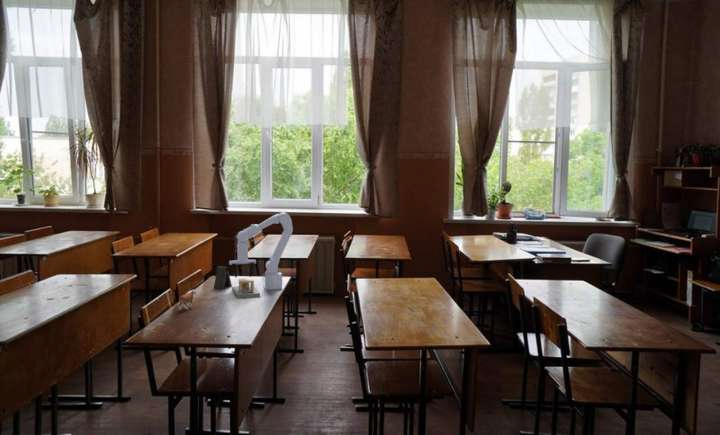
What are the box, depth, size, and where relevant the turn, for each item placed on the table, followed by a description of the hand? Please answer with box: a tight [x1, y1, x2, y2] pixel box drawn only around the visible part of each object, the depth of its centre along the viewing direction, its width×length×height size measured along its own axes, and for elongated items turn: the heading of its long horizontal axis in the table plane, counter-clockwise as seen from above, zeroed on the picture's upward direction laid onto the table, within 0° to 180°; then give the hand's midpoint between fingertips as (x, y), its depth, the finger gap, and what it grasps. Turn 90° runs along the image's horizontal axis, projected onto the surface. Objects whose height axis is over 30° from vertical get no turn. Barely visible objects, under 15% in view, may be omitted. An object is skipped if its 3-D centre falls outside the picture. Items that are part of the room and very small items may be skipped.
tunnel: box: [238, 279, 255, 291], centre depth 315 cm, size 8×3×5 cm, turn 110°
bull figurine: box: [178, 289, 198, 311], centre depth 284 cm, size 4×13×8 cm, turn 164°
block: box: [238, 277, 250, 290], centre depth 323 cm, size 4×10×4 cm, turn 20°
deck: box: [231, 285, 261, 299], centre depth 317 cm, size 12×20×2 cm, turn 20°
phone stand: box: [213, 265, 233, 290], centre depth 331 cm, size 9×6×12 cm, turn 156°
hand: (242, 276), depth 327 cm, fingers open, 7 cm apart
